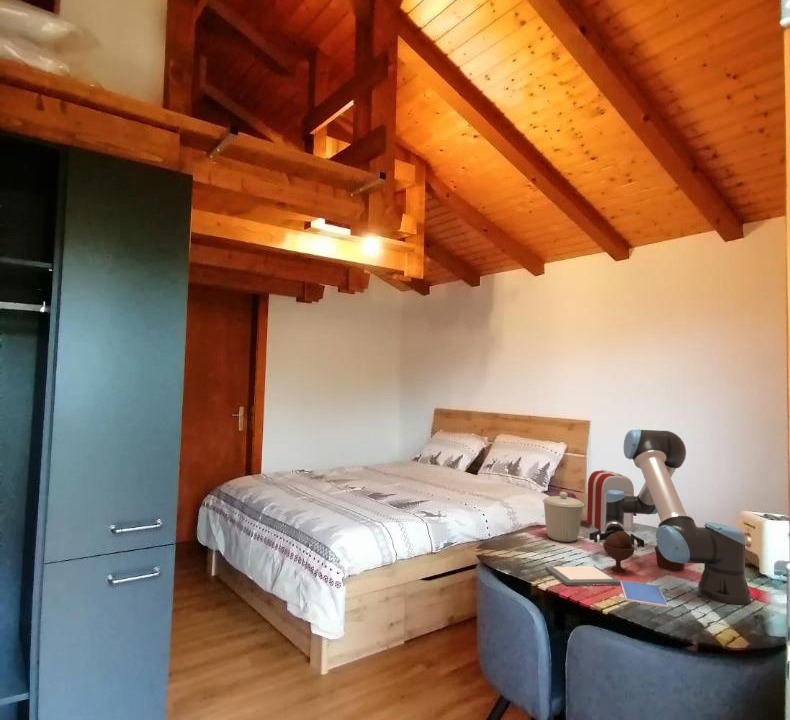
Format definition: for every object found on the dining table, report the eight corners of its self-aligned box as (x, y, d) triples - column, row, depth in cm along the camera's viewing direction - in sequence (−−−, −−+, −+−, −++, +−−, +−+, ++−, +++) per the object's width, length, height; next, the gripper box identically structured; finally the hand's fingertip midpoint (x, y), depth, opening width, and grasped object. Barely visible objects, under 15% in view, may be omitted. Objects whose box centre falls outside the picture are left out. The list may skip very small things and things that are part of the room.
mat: (620, 585, 187) (620, 581, 187) (566, 586, 184) (566, 582, 184) (595, 569, 203) (595, 566, 203) (545, 570, 199) (545, 566, 199)
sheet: (612, 580, 188) (612, 578, 188) (570, 580, 185) (570, 579, 186) (592, 567, 201) (592, 566, 201) (552, 568, 198) (552, 566, 198)
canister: (587, 538, 246) (588, 491, 247) (577, 547, 231) (579, 497, 232) (547, 531, 256) (549, 486, 257) (536, 539, 240) (537, 491, 242)
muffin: (655, 560, 217) (656, 535, 218) (687, 566, 211) (687, 540, 212) (652, 568, 207) (653, 542, 207) (685, 575, 201) (686, 547, 202)
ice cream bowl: (627, 567, 207) (628, 527, 208) (638, 577, 196) (639, 535, 197) (599, 565, 208) (600, 525, 209) (607, 574, 197) (608, 533, 198)
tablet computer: (619, 583, 191) (619, 579, 191) (659, 588, 187) (659, 584, 187) (625, 603, 172) (625, 599, 172) (669, 610, 168) (669, 605, 169)
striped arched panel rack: (616, 522, 279) (618, 470, 281) (634, 532, 262) (635, 476, 263) (585, 521, 278) (587, 469, 280) (600, 531, 261) (602, 474, 262)
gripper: (647, 545, 224) (652, 559, 204) (583, 536, 233) (582, 550, 213) (647, 527, 225) (652, 539, 205) (584, 519, 233) (583, 530, 213)
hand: (617, 545), depth 209 cm, fingers open, 13 cm apart
